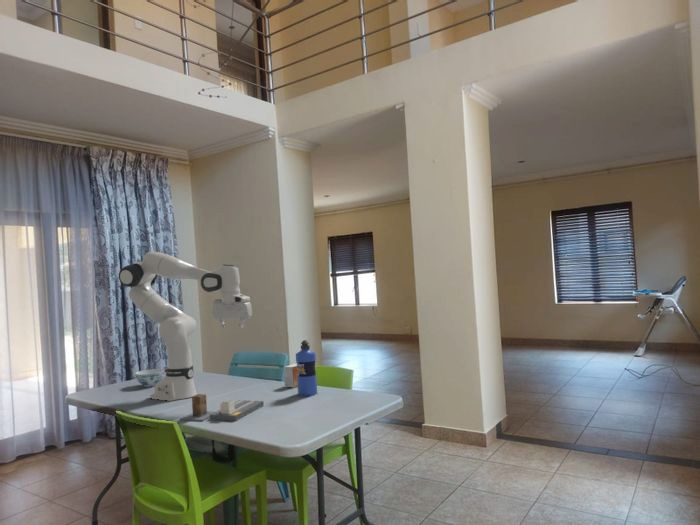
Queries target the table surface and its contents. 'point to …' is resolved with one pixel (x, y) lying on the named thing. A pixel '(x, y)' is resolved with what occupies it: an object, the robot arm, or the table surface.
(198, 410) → the wooden block
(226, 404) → the switch tab
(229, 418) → the switch panel
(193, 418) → the mat
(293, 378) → the small box
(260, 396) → the table surface
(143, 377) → the chinaware
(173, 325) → the robot arm
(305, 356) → the water bottle
